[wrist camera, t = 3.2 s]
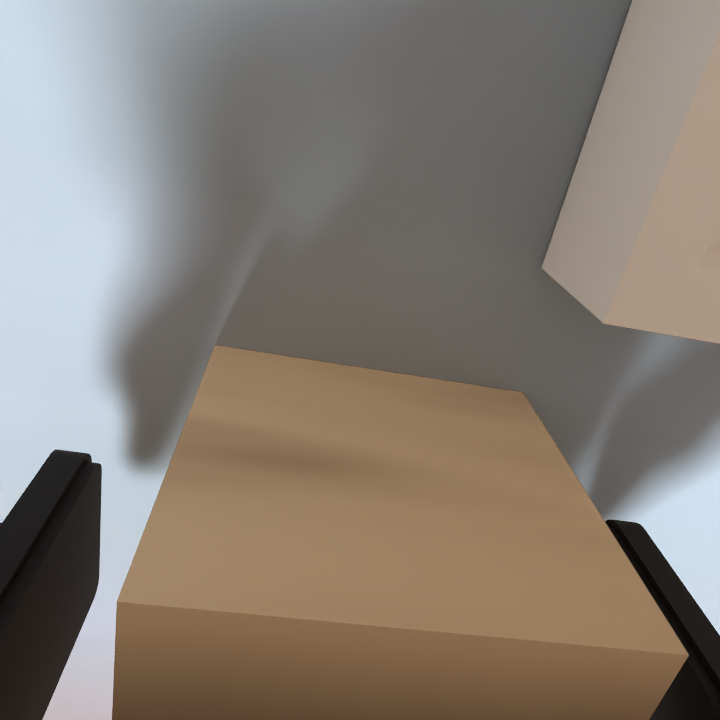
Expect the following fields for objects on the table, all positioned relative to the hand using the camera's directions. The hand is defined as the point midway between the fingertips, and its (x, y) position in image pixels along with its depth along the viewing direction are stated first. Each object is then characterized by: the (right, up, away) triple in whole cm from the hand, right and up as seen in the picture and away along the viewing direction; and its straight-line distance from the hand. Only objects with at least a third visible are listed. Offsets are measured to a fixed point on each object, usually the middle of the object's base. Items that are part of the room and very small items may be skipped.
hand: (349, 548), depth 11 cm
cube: (0, +1, +1) cm, 2 cm away
